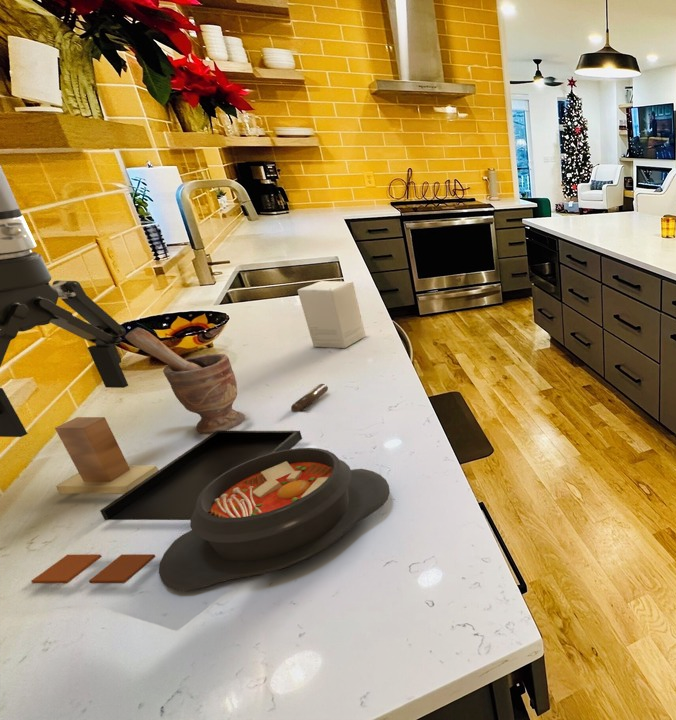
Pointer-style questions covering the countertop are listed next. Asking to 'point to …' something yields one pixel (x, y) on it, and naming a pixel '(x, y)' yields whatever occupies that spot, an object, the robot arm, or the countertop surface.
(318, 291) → the rectangular carton
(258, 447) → the griddle pan
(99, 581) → the plate
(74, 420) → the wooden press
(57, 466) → the countertop surface
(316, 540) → the casserole
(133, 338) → the mortar and pestle
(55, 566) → the plate
